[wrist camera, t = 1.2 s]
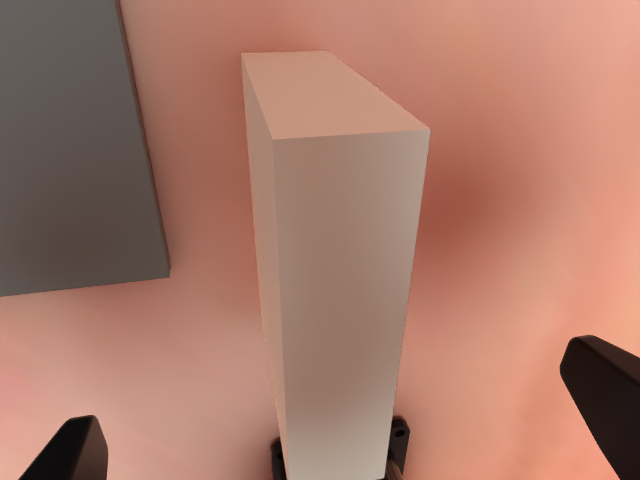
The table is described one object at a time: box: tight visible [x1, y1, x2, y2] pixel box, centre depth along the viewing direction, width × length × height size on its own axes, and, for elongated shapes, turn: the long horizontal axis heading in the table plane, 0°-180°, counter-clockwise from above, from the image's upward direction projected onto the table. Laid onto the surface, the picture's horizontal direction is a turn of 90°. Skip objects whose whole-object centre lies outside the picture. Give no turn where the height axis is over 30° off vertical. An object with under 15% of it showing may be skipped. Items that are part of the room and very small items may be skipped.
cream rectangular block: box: [240, 50, 431, 480], centre depth 12 cm, size 9×2×7 cm, turn 179°
